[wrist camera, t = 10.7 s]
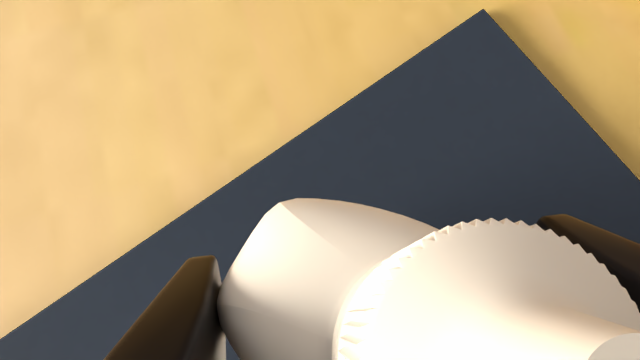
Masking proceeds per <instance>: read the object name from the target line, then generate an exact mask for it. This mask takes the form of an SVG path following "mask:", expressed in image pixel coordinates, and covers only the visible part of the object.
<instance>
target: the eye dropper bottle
mask: <svg viewBox="0 0 640 360" xmlns="http://www.w3.org/2000/svg"><path fill="white" fill-rule="evenodd" d="M217 312H218V318H219V323H220V326H221V328H222V330H223V332H224V333H225V335H226V337H227V339H228V341H229V343H230V345H231V346H232V348H233V349H234V351H235V352H236V354H237V355H238V357H239V359H240V360H640V313H639V310H638V308H637V305H636V303H635V302H634V301H632V300H631V298H630V296H629V294H628V292H627V290H626V288H624V287H622V286H621V285H620V283H619V281H618V279H617V278H616V276H615V275H611V274H610V273H609V271H608V269H607V268H606V266H605V265H604V264H602V263H598V261H597V260H596V258H595V257H594V256H593V254H592V253H588V254H587V253H586V252H585V251H584V250H583V249H582V247H581V246H580V245H579V244H574V245H573V244H572V243H571V242H570V241H569V240H568V239H567V238H566V236H561V237H559V236H558V235H556V234H555V233H554V232H553V231H552V230H551V229H549V230H546V231H544V230H543V229H542V228H540V227H539V226H538V225H537V224H534V225H531V226H529V225H527V224H526V223H524V222H523V221H522V220H520V221H518V222H515V223H513V222H512V221H510V220H508V219H507V218H505V219H503V220H501V221H497V220H495V219H493V218H489V219H487V220H485V221H481V220H478V219H475V220H473V221H471V222H469V223H465V222H463V221H462V222H460V223H458V224H456V225H454V226H452V227H451V226H446V227H444V228H443V229H441V230H439V229H437V228H434V227H432V226H430V225H428V224H425V223H423V222H420V221H417V220H415V219H412V218H409V217H406V216H404V215H400V214H397V213H393V212H390V211H386V210H383V209H379V208H375V207H371V206H366V205H362V204H357V203H351V202H344V201H337V200H326V199H315V198H295V199H291V200H287V201H283V202H279V203H278V204H277V205H275V206H274V207H273V208H272V209H271V210H269V211H268V212H267V213H266V214H265V215H264V216H263V218H262V219H261V220H260V222H259V223H258V225H257V226H256V227H255V229H254V230H253V232H252V233H251V235H250V237H249V238H248V240H247V241H246V243H245V244H244V246H243V248H242V249H241V251H240V252H239V254H238V256H237V257H236V259H235V261H234V262H233V264H232V266H231V267H230V269H229V271H228V273H227V275H226V277H225V278H224V280H223V282H222V284H221V286H220V290H219V294H218V298H217Z"/></svg>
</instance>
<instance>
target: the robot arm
mask: <svg viewBox="0 0 640 360" xmlns="http://www.w3.org/2000/svg"><path fill="white" fill-rule="evenodd" d="M536 224H537V225H538V226H539V227H540V228H542V229H543V230H544V231H546V230H549V229H551V230H552V231H553V232H554V233H555V234H556V235H558V236H559V237H561V236H566V238H567V239H568V240H569V241H570V242H571V243H572V244H573V245H574V244H579V245H580V246H581V247H582V249H583V250H584V251H585V252H586V253H587V254H588V253H592V254H593V256H594V257H595V258H596V260H597V261H598V263H602V264H604V265H605V266H606V268H607V269H608V271H609V273H610V274H611V275H615V276H616V278H617V279H618V281H619V283H620V285H621V286H622V287H624V288H626V290H627V292H628V294H629V296H630V298H631V300H632V301H634V302H635V303H636V305H637V308H638V310H639V313H640V244H638V243H636V242H633V241H631V240H628V239H626V238H623V237H621V236H619V235H616V234H614V233H611V232H609V231H606V230H604V229H601V228H599V227H596V226H594V225H592V224H589V223H587V222H584V221H582V220H579V219H577V218H574V217H572V216H569V215H567V214H557V215H548V216H542V217H541V218H539V219H538V221H537V223H536ZM221 284H222V283H221V277H220V272H219V267H218V262H217V259H216V258H215V256H213V255H209V256H200V257H192V258H189V259H188V260H187V261H186V262H185V263H184V264H183V265H182V266H181V268H180V269H179V270H178V271H177V272H176V274H175V275H174V276H173V277H172V278H171V280H170V281H169V282H168V283H167V284H166V285H165V287H164V288H163V289H162V290H161V291H160V293H159V294H158V295H157V296H156V297H155V299H154V300H153V301H152V302H151V303H150V305H149V306H148V307H147V308H146V309H145V311H144V312H143V313H142V314H141V315H140V317H139V318H138V319H137V320H136V321H135V323H134V324H133V325H132V326H131V327H130V329H129V330H128V331H127V332H126V333H125V335H124V336H123V337H122V338H121V339H120V340H119V342H118V343H117V344H116V345H115V346H114V348H113V349H112V350H111V351H110V352H109V354H108V355H107V356H106V357H105V358H104V360H226V335H225V333H224V332H223V330H222V328H221V326H220V323H219V318H218V312H217V298H218V294H219V290H220V286H221Z"/></svg>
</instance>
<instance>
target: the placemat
mask: <svg viewBox="0 0 640 360" xmlns="http://www.w3.org/2000/svg"><path fill="white" fill-rule="evenodd" d="M295 198H315V199H326V200H337V201H344V202H351V203H357V204H362V205H366V206H371V207H375V208H379V209H383V210H386V211H390V212H393V213H397V214H400V215H404V216H406V217H409V218H412V219H415V220H417V221H420V222H423V223H425V224H428V225H430V226H432V227H434V228H437V229H439V230H441V229H443V228H444V227H446V226H451V227H452V226H454V225H456V224H458V223H460V222H462V221H463V222H465V223H469V222H471V221H473V220H475V219H478V220H481V221H485V220H487V219H489V218H493V219H495V220H497V221H501V220H503V219H505V218H507V219H508V220H510V221H512V222H513V223H515V222H518V221H520V220H522V221H523V222H524V223H526V224H527V225H529V226H531V225H534V224H536V223H537V221H538V219H539V218H541V217H542V216H548V215H557V214H567V215H569V216H572V217H574V218H577V219H579V220H582V221H584V222H587V223H589V224H592V225H594V226H596V227H599V228H601V229H604V230H606V231H609V232H611V233H614V234H616V235H619V236H621V237H623V238H626V239H628V240H631V241H633V242H636V243H638V244H640V181H639V179H638V178H637V177H636V176H635V175H634V174H633V173H632V172H631V171H630V170H629V168H628V167H627V166H626V165H625V164H624V163H623V162H622V161H621V160H620V159H619V157H618V156H617V155H616V154H615V153H614V152H613V151H612V150H611V149H610V148H609V146H608V145H607V144H606V143H605V142H604V141H603V140H602V139H601V138H600V137H599V135H598V134H597V133H596V132H595V131H594V130H593V129H592V128H591V127H590V126H589V124H588V123H587V122H586V121H585V120H584V119H583V118H582V117H581V116H580V115H579V114H578V112H577V111H576V110H575V109H574V108H573V107H572V106H571V105H570V104H569V103H568V101H567V100H566V99H565V98H564V97H563V96H562V95H561V94H560V93H559V92H558V90H557V89H556V88H555V87H554V86H553V85H552V84H551V83H550V82H549V81H548V79H547V78H546V77H545V76H544V75H543V74H542V73H541V72H540V71H539V70H538V68H537V67H536V66H535V65H534V64H533V63H532V62H531V61H530V60H529V59H528V57H527V56H526V55H525V54H524V53H523V52H522V51H521V50H520V49H519V48H518V46H517V45H516V44H515V43H514V42H513V41H512V40H511V39H510V38H509V37H508V35H507V34H506V33H505V32H504V31H503V30H502V29H501V28H500V27H499V26H498V24H497V23H496V22H495V21H494V20H493V19H492V18H491V17H490V16H489V15H488V13H487V12H486V11H485V10H484V9H482V10H481V11H479V12H478V13H476V14H475V15H473V16H472V17H471V18H469V19H468V20H466V21H465V22H463V23H462V24H460V25H459V26H457V27H456V28H454V29H453V30H452V31H450V32H449V33H447V34H446V35H444V36H443V37H441V38H440V39H438V40H437V41H435V42H434V43H433V44H431V45H430V46H428V47H427V48H425V49H424V50H422V51H421V52H419V53H418V54H416V55H415V56H414V57H412V58H411V59H409V60H408V61H406V62H405V63H403V64H402V65H400V66H399V67H397V68H396V69H395V70H393V71H392V72H390V73H389V74H387V75H386V76H384V77H383V78H381V79H380V80H378V81H377V82H376V83H374V84H373V85H371V86H370V87H368V88H367V89H365V90H364V91H362V92H361V93H359V94H358V95H357V96H355V97H354V98H352V99H351V100H349V101H348V102H346V103H345V104H343V105H342V106H340V107H339V108H338V109H336V110H335V111H333V112H332V113H330V114H329V115H327V116H326V117H324V118H323V119H321V120H320V121H319V122H317V123H316V124H314V125H313V126H311V127H310V128H308V129H307V130H305V131H304V132H302V133H301V134H300V135H298V136H297V137H295V138H294V139H292V140H291V141H289V142H288V143H286V144H285V145H283V146H282V147H281V148H279V149H278V150H276V151H275V152H273V153H272V154H270V155H269V156H267V157H266V158H264V159H263V160H262V161H260V162H259V163H257V164H256V165H254V166H253V167H251V168H250V169H248V170H247V171H245V172H244V173H243V174H241V175H240V176H238V177H237V178H235V179H234V180H232V181H231V182H229V183H228V184H226V185H225V186H224V187H222V188H221V189H219V190H218V191H216V192H215V193H213V194H212V195H210V196H209V197H207V198H206V199H205V200H203V201H202V202H200V203H199V204H197V205H196V206H194V207H193V208H191V209H190V210H188V211H187V212H186V213H184V214H183V215H181V216H180V217H178V218H177V219H175V220H174V221H172V222H171V223H169V224H168V225H167V226H165V227H164V228H162V229H161V230H159V231H158V232H156V233H155V234H153V235H152V236H150V237H149V238H148V239H146V240H145V241H143V242H142V243H140V244H139V245H137V246H136V247H134V248H133V249H131V250H130V251H129V252H127V253H126V254H124V255H123V256H121V257H120V258H118V259H117V260H115V261H114V262H112V263H111V264H110V265H108V266H107V267H105V268H104V269H102V270H101V271H99V272H98V273H96V274H95V275H93V276H92V277H91V278H89V279H88V280H86V281H85V282H83V283H82V284H80V285H79V286H77V287H76V288H74V289H73V290H72V291H70V292H69V293H67V294H66V295H64V296H63V297H61V298H60V299H58V300H57V301H55V302H54V303H53V304H51V305H50V306H48V307H47V308H45V309H44V310H42V311H41V312H39V313H38V314H36V315H35V316H34V317H32V318H31V319H29V320H28V321H26V322H25V323H23V324H22V325H20V326H19V327H17V328H16V329H15V330H13V331H12V332H10V333H9V334H7V335H6V336H4V337H3V338H1V339H0V360H104V358H105V357H106V356H107V355H108V354H109V352H110V351H111V350H112V349H113V348H114V346H115V345H116V344H117V343H118V342H119V340H120V339H121V338H122V337H123V336H124V335H125V333H126V332H127V331H128V330H129V329H130V327H131V326H132V325H133V324H134V323H135V321H136V320H137V319H138V318H139V317H140V315H141V314H142V313H143V312H144V311H145V309H146V308H147V307H148V306H149V305H150V303H151V302H152V301H153V300H154V299H155V297H156V296H157V295H158V294H159V293H160V291H161V290H162V289H163V288H164V287H165V285H166V284H167V283H168V282H169V281H170V280H171V278H172V277H173V276H174V275H175V274H176V272H177V271H178V270H179V269H180V268H181V266H182V265H183V264H184V263H185V262H186V261H187V260H188V259H189V258H192V257H200V256H209V255H213V256H215V258H216V259H217V262H218V267H219V272H220V277H221V283H222V282H223V280H224V278H225V277H226V275H227V273H228V271H229V269H230V267H231V266H232V264H233V262H234V261H235V259H236V257H237V256H238V254H239V252H240V251H241V249H242V248H243V246H244V244H245V243H246V241H247V240H248V238H249V237H250V235H251V233H252V232H253V230H254V229H255V227H256V226H257V225H258V223H259V222H260V220H261V219H262V218H263V216H264V215H265V214H266V213H267V212H268V211H269V210H271V209H272V208H273V207H274V206H275V205H277V204H278V203H279V202H283V201H287V200H291V199H295ZM226 360H240V359H239V357H238V355H237V354H236V352H235V351H234V349H233V348H232V346H231V345H230V343H229V341H228V339H227V337H226Z"/></svg>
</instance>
